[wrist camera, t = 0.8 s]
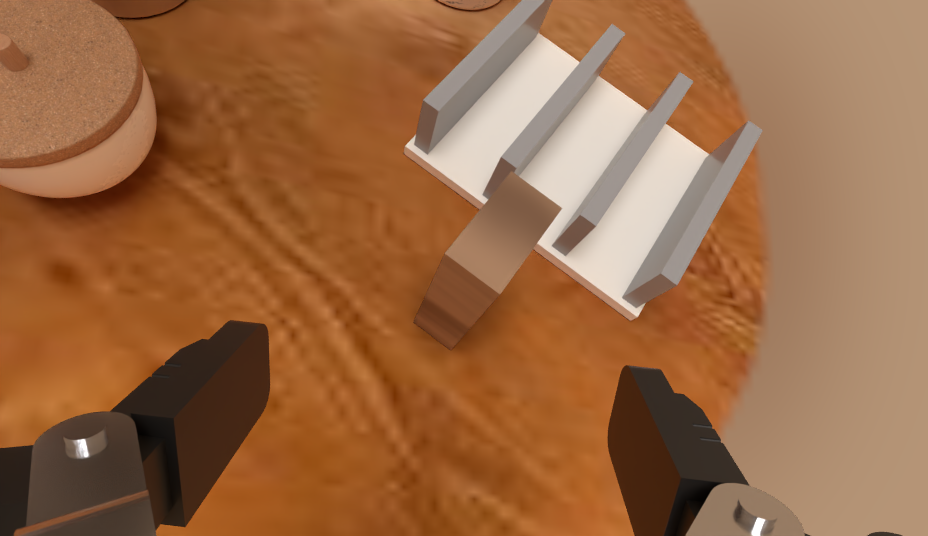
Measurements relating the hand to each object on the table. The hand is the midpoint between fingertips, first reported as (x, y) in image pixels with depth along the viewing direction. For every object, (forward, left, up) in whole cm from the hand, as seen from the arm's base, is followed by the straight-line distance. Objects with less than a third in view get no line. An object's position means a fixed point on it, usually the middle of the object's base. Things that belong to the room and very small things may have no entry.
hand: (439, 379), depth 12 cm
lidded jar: (-24, -11, -22) cm, 34 cm away
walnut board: (-6, +8, -21) cm, 23 cm away
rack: (-13, +20, -21) cm, 32 cm away
